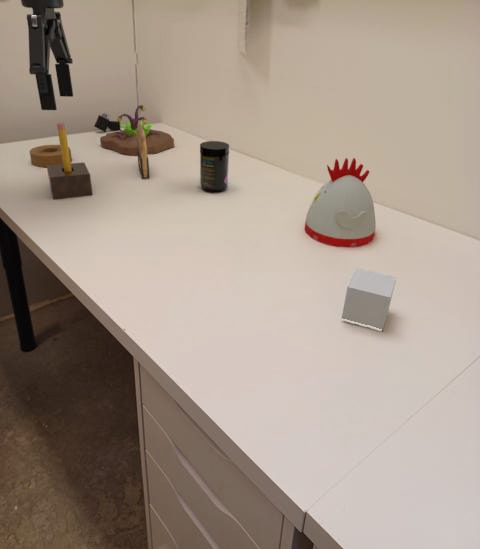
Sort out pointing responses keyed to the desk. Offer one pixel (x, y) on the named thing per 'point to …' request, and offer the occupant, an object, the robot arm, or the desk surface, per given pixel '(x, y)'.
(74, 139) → the desk surface
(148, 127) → the plant
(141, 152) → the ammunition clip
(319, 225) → the kitchen timer
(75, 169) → the block
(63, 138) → the pencil
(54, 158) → the tape roll
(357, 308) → the light grey cube
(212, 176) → the supplement container
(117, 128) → the lighter
